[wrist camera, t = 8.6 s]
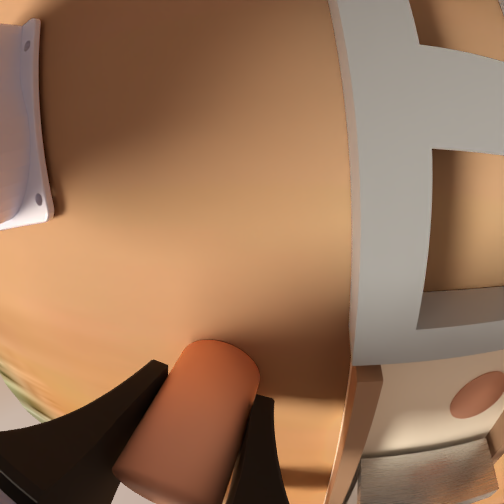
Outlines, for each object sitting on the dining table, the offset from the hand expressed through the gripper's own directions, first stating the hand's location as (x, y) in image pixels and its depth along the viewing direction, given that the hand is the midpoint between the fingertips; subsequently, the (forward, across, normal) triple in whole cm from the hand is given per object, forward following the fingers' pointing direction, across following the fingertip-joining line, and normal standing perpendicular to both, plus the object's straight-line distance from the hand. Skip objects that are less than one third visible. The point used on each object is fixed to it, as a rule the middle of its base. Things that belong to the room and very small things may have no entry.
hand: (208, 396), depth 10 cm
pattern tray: (+1, -12, +4) cm, 13 cm away
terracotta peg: (+1, 0, 0) cm, 1 cm away
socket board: (+1, -6, -12) cm, 13 cm away
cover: (0, -13, +7) cm, 14 cm away
